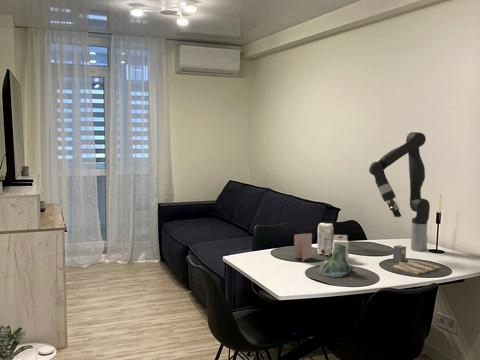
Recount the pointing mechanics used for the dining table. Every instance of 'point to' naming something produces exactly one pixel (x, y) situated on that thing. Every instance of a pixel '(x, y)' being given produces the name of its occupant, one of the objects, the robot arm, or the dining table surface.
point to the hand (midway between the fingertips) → (398, 216)
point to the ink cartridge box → (342, 243)
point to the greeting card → (303, 246)
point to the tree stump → (337, 262)
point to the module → (399, 253)
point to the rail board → (415, 267)
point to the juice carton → (325, 239)
